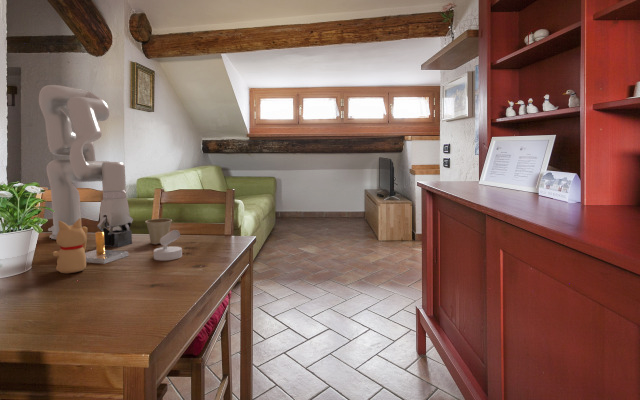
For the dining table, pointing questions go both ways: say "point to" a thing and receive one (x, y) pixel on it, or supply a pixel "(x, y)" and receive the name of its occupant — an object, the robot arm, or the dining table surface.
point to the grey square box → (121, 238)
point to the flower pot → (158, 229)
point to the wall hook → (165, 251)
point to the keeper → (103, 252)
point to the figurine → (71, 247)
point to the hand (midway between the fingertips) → (117, 242)
